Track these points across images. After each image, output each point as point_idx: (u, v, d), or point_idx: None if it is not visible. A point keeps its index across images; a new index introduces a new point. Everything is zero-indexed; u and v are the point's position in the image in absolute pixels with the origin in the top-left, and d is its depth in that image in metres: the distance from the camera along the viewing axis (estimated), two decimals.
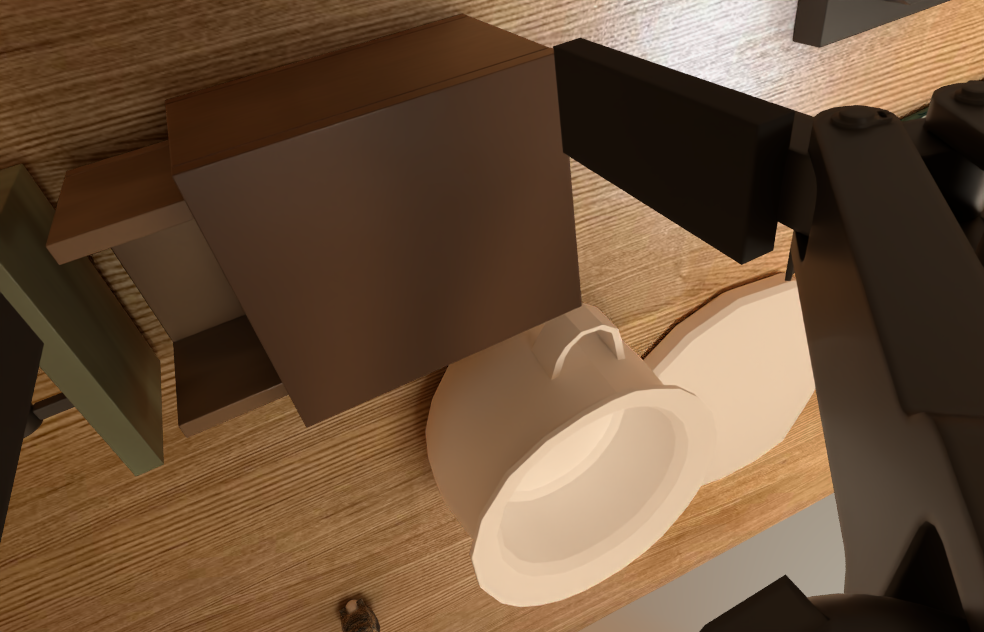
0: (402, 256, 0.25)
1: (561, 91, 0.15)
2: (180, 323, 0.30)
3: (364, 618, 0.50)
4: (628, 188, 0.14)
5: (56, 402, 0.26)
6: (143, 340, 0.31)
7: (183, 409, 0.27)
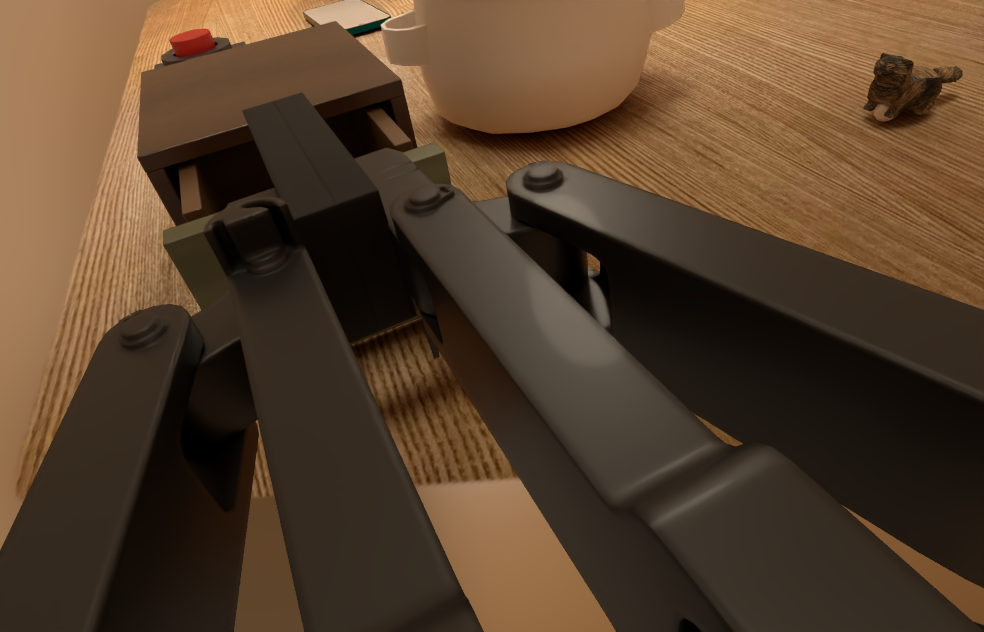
0: (252, 80, 0.33)
1: None
2: None
3: (873, 83, 0.38)
4: None
5: None
6: None
7: None
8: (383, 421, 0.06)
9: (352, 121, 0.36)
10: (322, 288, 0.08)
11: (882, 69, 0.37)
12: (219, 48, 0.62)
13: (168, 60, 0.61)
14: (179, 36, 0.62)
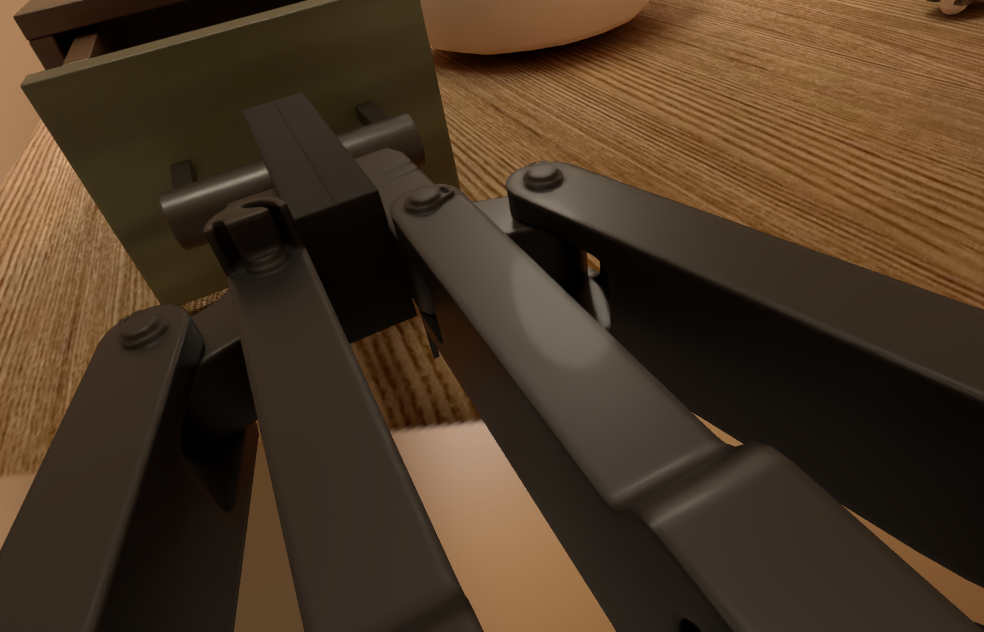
0: None
1: None
2: None
3: None
4: None
5: (370, 121, 0.19)
6: None
7: None
8: (383, 421, 0.06)
9: None
10: (322, 288, 0.08)
11: None
12: None
13: None
14: None
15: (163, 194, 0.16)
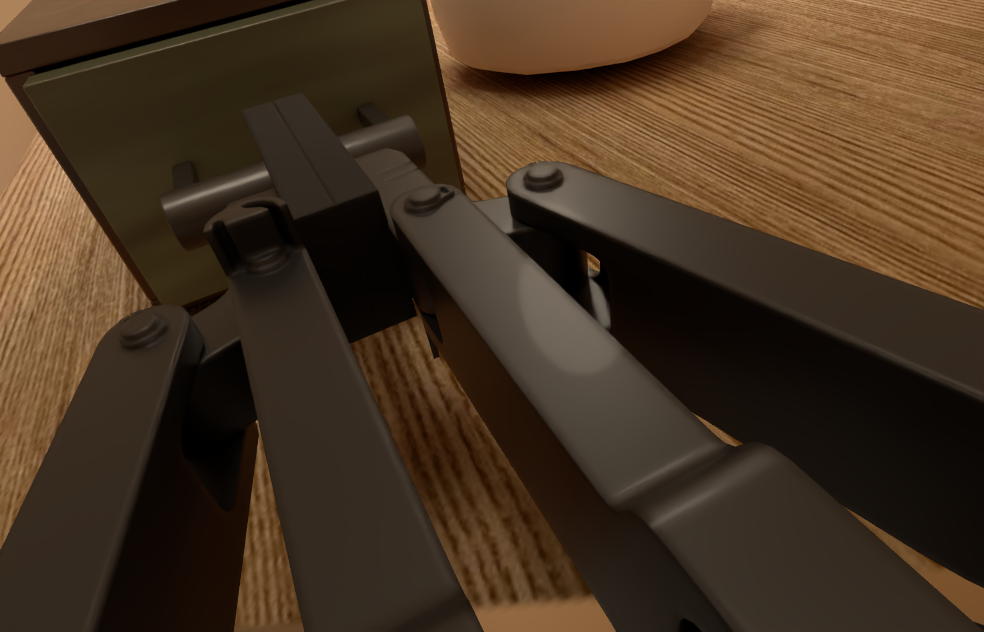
0: None
1: None
2: None
3: None
4: None
5: (371, 122, 0.19)
6: None
7: None
8: (383, 421, 0.06)
9: None
10: (322, 288, 0.08)
11: None
12: None
13: None
14: None
15: (165, 195, 0.16)
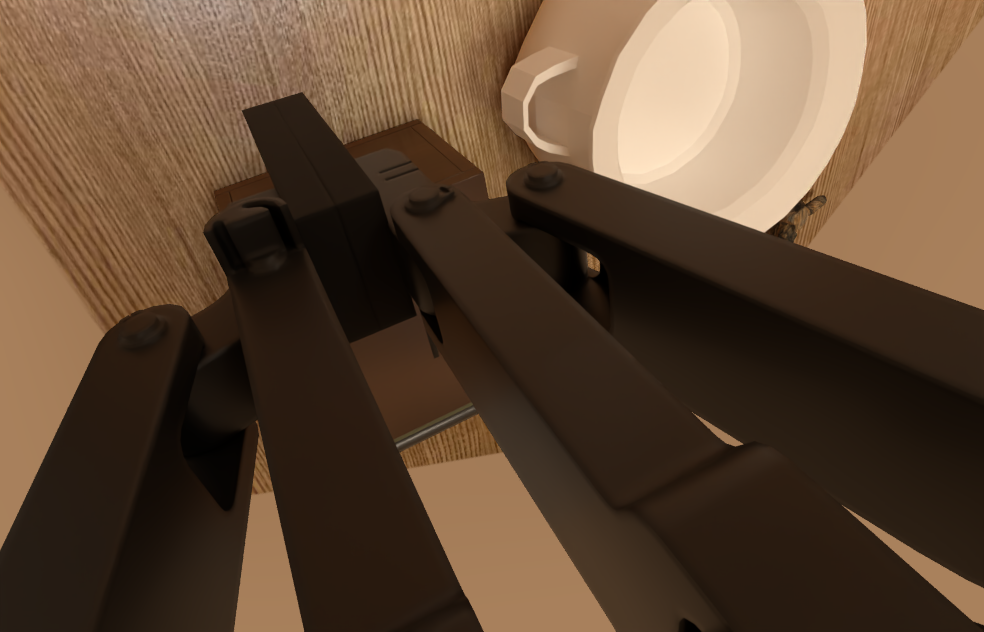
0: (404, 346, 0.34)
1: None
2: None
3: (776, 223, 0.54)
4: None
5: None
6: None
7: None
8: (383, 421, 0.06)
9: None
10: (322, 288, 0.08)
11: None
12: None
13: None
14: None
15: None
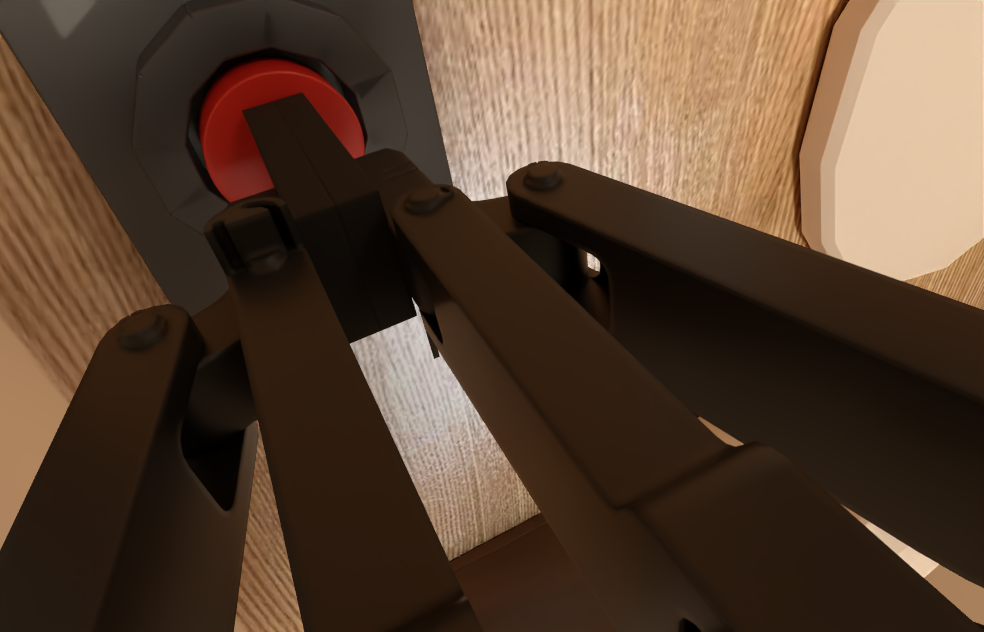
0: None
1: None
2: None
3: None
4: None
5: None
6: None
7: None
8: (383, 421, 0.06)
9: None
10: (322, 288, 0.08)
11: None
12: None
13: None
14: (244, 148, 0.15)
15: None
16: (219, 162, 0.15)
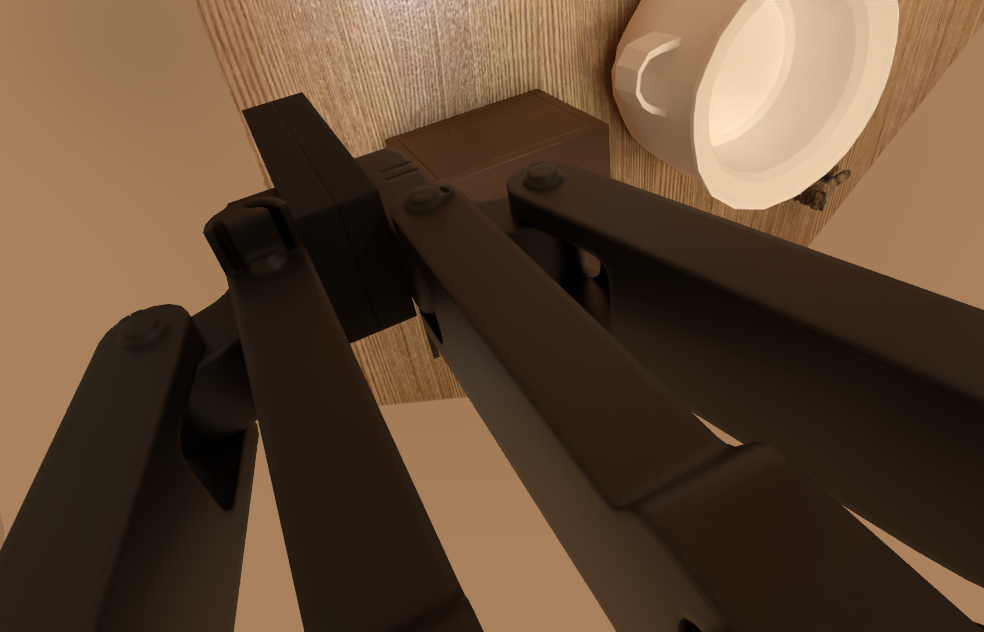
0: None
1: None
2: None
3: (809, 191, 0.63)
4: None
5: None
6: None
7: None
8: (383, 421, 0.06)
9: None
10: (322, 288, 0.08)
11: (813, 204, 0.63)
12: None
13: None
14: None
15: None
16: None
